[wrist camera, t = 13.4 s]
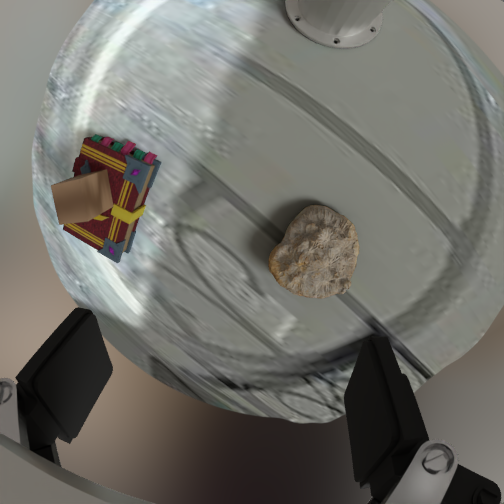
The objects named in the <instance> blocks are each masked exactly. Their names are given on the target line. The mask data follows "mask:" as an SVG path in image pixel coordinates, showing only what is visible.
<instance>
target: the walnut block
mask: <svg viewBox="0 0 504 504" xmlns="http://www.w3.org/2000/svg"><path fill="white" fill-rule="evenodd" d="M51 188H52V193H53V198H54V203H55V208H56V212H57V216H58V221H59V225H62V224H70V223H78V222H87V221H90V220H91V219H93V218H95V217H96V216H98V215H100V214H102V213H103V212H105V211H107V210H108V209H110V208H112V207H114V206H113V201H112V195H111V190H110V184H109V178H108V172H107V169H106V170H101V171H96V172H92V173H87V174H83V175H78V176H76V177H73V178H70V179H67V180H64V181H62V182H59V183H56V184H54V185H51Z"/></svg>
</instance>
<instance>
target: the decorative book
mask: <svg viewBox="0 0 504 504" xmlns="http://www.w3.org/2000/svg"><path fill="white" fill-rule="evenodd" d="M113 140H114V139H112V138H110V137H105V138H103V137H101V136H99V135H96V134H95V135H94V136H93V137H87V138H84V141H83V144H82V148H81V151H80V155H79V157H77V158H76V159H75V163H74V167H73V172H74V177H76V176H78V175H83V174H87V173H92V172H96V171H101V170H106V169H107V172H108V178H109V184H110V190H111V195H112V201H113V206H114V207H112V208H110V209H108V210H107V211H105V212H103V213H102V214H100V215H98V216H96V217H95V218H93V219H91V220H90V221H87V222H78V223H70V224H64V226H63V230H65V231H67V232H68V233H70V234H71V235H73V236H75V237H76V238H78V239H80V240H81V241H83V242H85V243H86V244H88V245H90V246H92V247H93V248H95V249H97V250H98V251H97V252H99V253H101V254H102V255H104V256H106V257H108V258H109V259H111V260H113V261H114V262H116V263H119V262H120V259H121V255H122V253H123V252H126V253H129V252H130V249H131V246H132V243H133V239H134V236H135V233H136V231H135V229H136V226H137V223H138V220H139V217H140V216H142V215H143V212H144V209H145V206H146V205H144V203H145V200H146V197H147V194H148V192H149V189H150V188H151V187H152V184H153V182H154V179H155V177H156V174H157V172H158V169H159V167H160V164H161V162H160V161H158V160H155V158H156V157H157V155H155V154H153V153H151V152H149V153H148V154H147V155H144V154H145V152H143V151H141V150H138V149H137V150H136V151H132V149H133V148H134V147H135V145H136V144H135V143H133V142H130V141H128V142H127V143H126V145H125V146H123V144H120V143H118V142H112V141H113Z"/></svg>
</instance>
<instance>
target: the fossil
mask: <svg viewBox="0 0 504 504" xmlns="http://www.w3.org/2000/svg"><path fill="white" fill-rule="evenodd" d="M357 237H358V236H357V233H356V231H355V227H354V225H353V223H351V222H350V221H349V220H348V219H347V218H346V217H345V216H343V215H340V214H338V213H336V212H335V211H333V210H331V209H330V208H328V207H326V206H320V205H314V206H313V205H311V206H309V207H305V208H304V209H303V210H302V211H301V212H300V213H299V214H298V215H297V216H296V217H295V219H294V220H293V221H292V222H291V223H290V224H289V226H288V228H287V230H286V233H285V236H284V238H283V240H282V242H281V243H280V244H278V245H277V246H275V248H274V249H273V250H272V252H271V253H270V256H269V271H270V272H271V273H272V274H273V276H274V278H275V279H276V281H277V282H278V283H279V284H280V286H283V287H284V288H286V289H287V290H289V291H290V292H292V293H293V294H296V295H299V296H305V297H311V298H326V297H329V296H332V295H334V294H336V293H337V294H343V293H345V292H346V289H349V287H350V286H351V282H350V279H351V276H352V274H353V271H354V269H355V267H356V260H357V255H358V254H359V244H358V239H357Z"/></svg>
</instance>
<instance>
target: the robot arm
mask: <svg viewBox="0 0 504 504" xmlns="http://www.w3.org/2000/svg"><path fill="white" fill-rule="evenodd" d="M502 1H503V2H504V0H502ZM391 2H392V0H285V7H286V12H287V15H288V17H289V19H290V21H291V22H292V24H293V25H294V26H295V28H296V29H297V30H298V31H299V32H301V33H302V34H303V35H304V36H306V37H307V38H309V39H310V40H312V41H314V42H316V43H318V44H321V45H324V46H327V47H332V48H337V49H349V48H356V47H359V46H362V45H364V44H366V43H368V42H369V41H371V40H372V39H373V38H374V37H375V36H376V35H377V34H378V33H379V31H380V28H381V26H382V21H383V12H382V11H383V10H384V9H385V8H386V7H387V6H388V5H389V4H390V3H391ZM296 19H298V20H299V21H296ZM370 30H372V31H373V32H371V31H370ZM334 41H336V42H337V44H335V43H334ZM112 371H113V366H112V363H111V361H110V358H109V355H108V352H107V350H106V347H105V344H104V341H103V338H102V335H101V332H100V328H99V325H98V322H97V319H96V316H95V315H93V313H92V311H91V310H88V309H83V308H79V307H78V308H75V309H74V310H73V311H72V312H71V313H70V314H69V316H68V317H67V318H66V319H65V320H64V321H63V322H62V323H61V324H60V325H59V326H58V328H57V329H56V330H55V331H54V332H53V333H52V335H51V336H50V337H49V338H48V339H47V340H46V341H45V342H44V344H43V345H42V346H41V347H40V348H39V349H38V351H37V352H36V353H35V354H34V355H33V357H32V358H31V359H30V360H29V362H28V363H27V364H26V365H25V366H24V368H23V369H22V370H21V371H20V372H19V374H18V375H17V376H16V379H17V381H18V383H17V385H16V384H15V383H14V381H12V380H11V379H8V378H1V379H0V504H155V503H151V502H148V501H144V500H141V499H138V498H135V497H132V496H129V495H126V494H123V493H120V492H117V491H115V490H112V489H109V488H107V487H104V486H102V485H99V484H96V483H94V482H92V481H89V480H87V479H85V478H83V477H80V476H78V475H76V474H74V473H72V472H70V471H68V470H66V469H64V468H62V467H61V464H60V460H59V456H58V452H57V447H56V443H55V440H56V438H57V437H58V438H59V439H61V440H63V441H65V442H67V443H69V444H70V443H71V441H72V439H73V438H76V437H77V435H78V433H79V432H80V430H81V428H82V426H83V424H84V422H85V421H86V419H87V417H88V415H89V413H90V411H91V409H92V408H93V406H94V404H95V402H96V401H97V399H98V397H99V395H100V394H101V392H102V390H103V388H104V386H105V385H106V383H107V381H108V380H109V378H110V376H111V374H112ZM344 404H345V410H346V417H347V423H348V431H349V438H350V445H351V453H352V461H353V469H354V478H355V481H356V482H360V488H361V489H362V488H369V487H370V489H371V496H373V497H372V498H371V499H370V501H369V502H368V503H367V504H504V503H501V502H500V501H501V492H500V489H499V487H498V485H497V484H496V483H494V482H493V481H491V480H489V479H487V478H485V477H483V476H480V475H479V474H477V473H475V472H472V471H471V470H469V469H467V468H465V467H463V466H461V465H459V464H458V454H457V451H456V449H455V448H454V447H453V446H452V444H450V443H449V442H447V441H445V440H442V439H432V440H429V437H428V434H427V431H426V428H425V425H424V422H423V419H422V416H421V413H420V410H419V407H418V404H417V401H416V399H415V396H414V393H413V390H412V388H411V385H410V382H409V380H408V378H407V376H406V375H405V374H402V373H401V370H400V368H399V365H398V363H397V360H396V357H395V355H394V352H393V350H392V347H391V345H390V342H389V340H388V338H387V337H370V338H369V339H368V341H364V342H363V344H362V347H361V350H360V353H359V356H358V358H357V361H356V364H355V367H354V370H353V372H352V375H351V378H350V380H349V383H348V386H347V388H346V391H345V394H344Z"/></svg>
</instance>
